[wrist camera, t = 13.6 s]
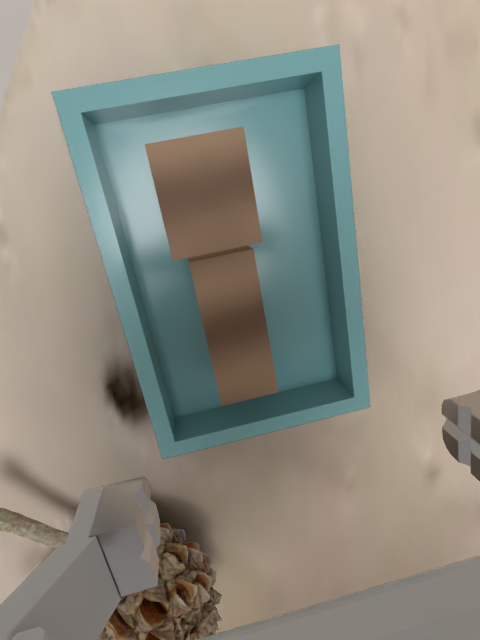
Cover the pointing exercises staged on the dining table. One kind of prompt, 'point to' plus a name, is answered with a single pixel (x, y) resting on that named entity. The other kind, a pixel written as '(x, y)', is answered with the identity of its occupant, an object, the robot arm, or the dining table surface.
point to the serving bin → (271, 255)
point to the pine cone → (156, 602)
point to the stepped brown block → (218, 251)
